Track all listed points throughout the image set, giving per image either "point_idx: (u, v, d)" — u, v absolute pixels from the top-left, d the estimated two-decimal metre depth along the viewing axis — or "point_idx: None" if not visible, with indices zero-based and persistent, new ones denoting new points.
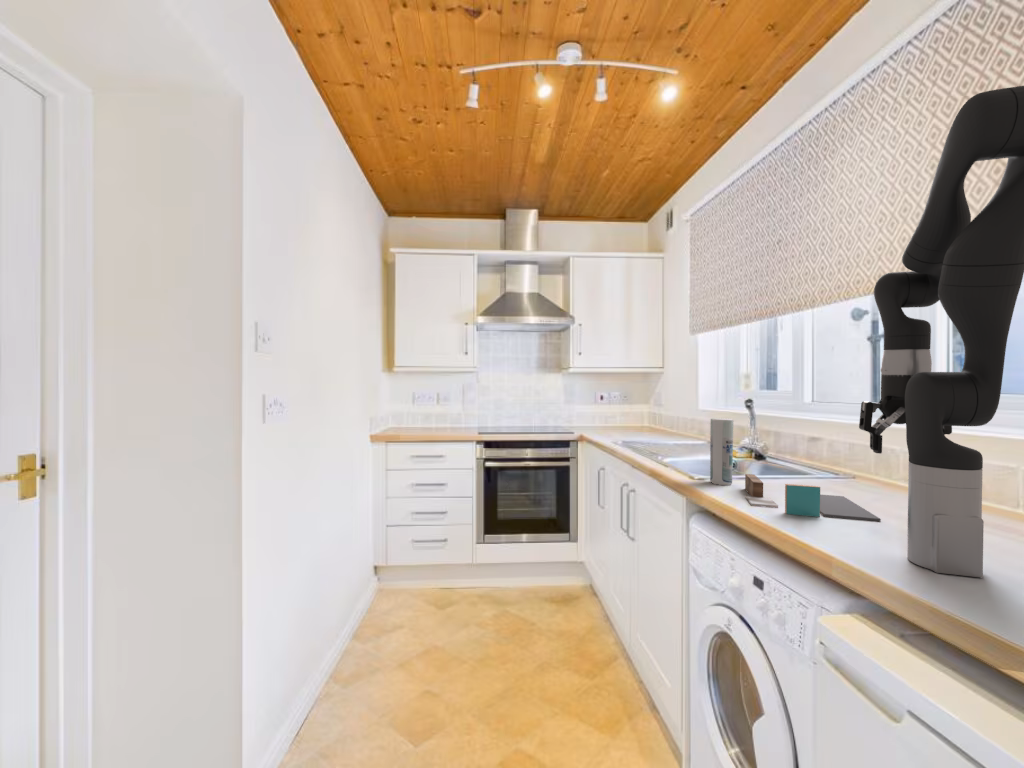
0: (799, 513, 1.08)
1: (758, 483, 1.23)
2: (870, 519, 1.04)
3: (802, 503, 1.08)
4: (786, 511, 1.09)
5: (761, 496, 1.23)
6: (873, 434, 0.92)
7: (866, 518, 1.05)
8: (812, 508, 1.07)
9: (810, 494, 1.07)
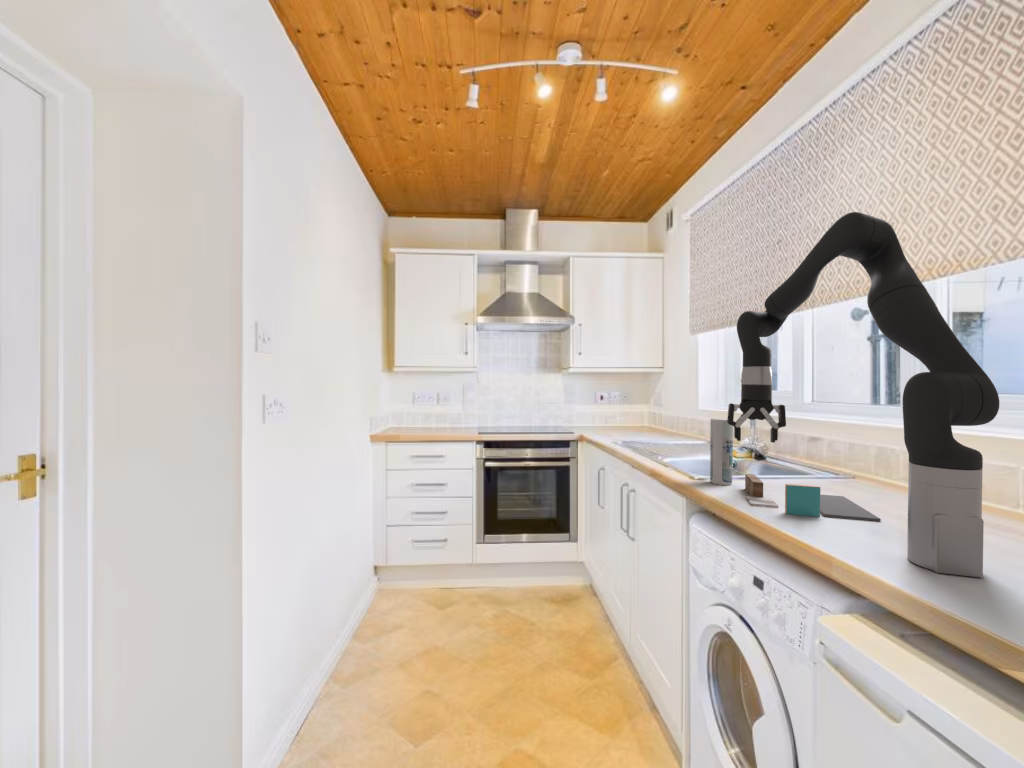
0: (799, 513, 1.08)
1: (758, 483, 1.23)
2: (870, 519, 1.04)
3: (802, 503, 1.08)
4: (786, 511, 1.09)
5: (761, 496, 1.23)
6: (735, 427, 1.28)
7: (866, 518, 1.05)
8: (812, 508, 1.07)
9: (810, 494, 1.07)
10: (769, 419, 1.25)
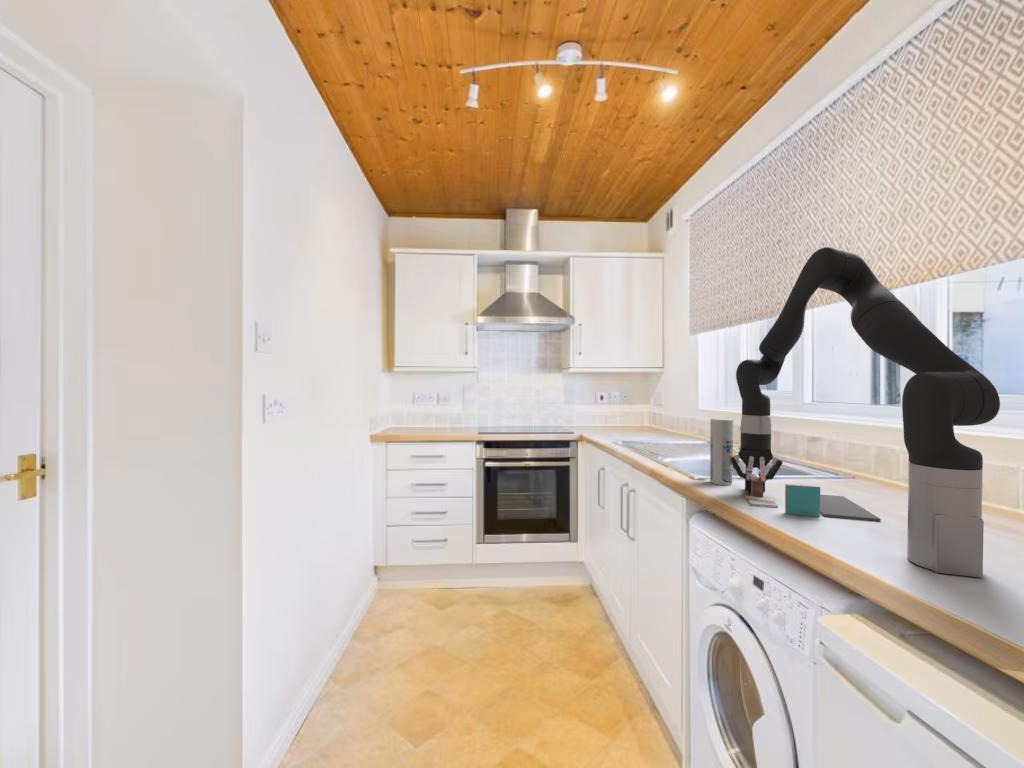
0: (799, 513, 1.08)
1: (758, 483, 1.23)
2: (870, 519, 1.04)
3: (802, 503, 1.08)
4: (786, 511, 1.09)
5: (761, 496, 1.23)
6: (747, 480, 1.27)
7: (866, 518, 1.05)
8: (812, 508, 1.07)
9: (810, 494, 1.07)
10: (762, 470, 1.25)
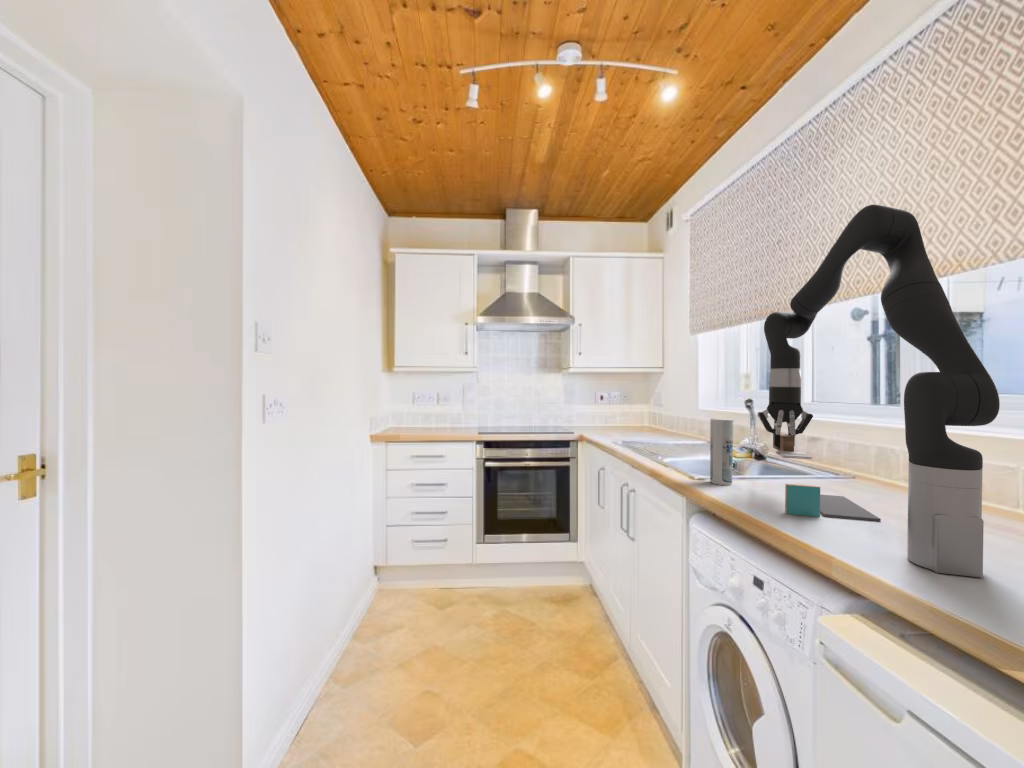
0: (799, 513, 1.08)
1: (789, 437, 1.20)
2: (870, 519, 1.04)
3: (802, 503, 1.08)
4: (786, 511, 1.09)
5: (792, 450, 1.20)
6: (776, 435, 1.25)
7: (866, 518, 1.05)
8: (812, 508, 1.07)
9: (810, 494, 1.07)
10: (791, 424, 1.23)
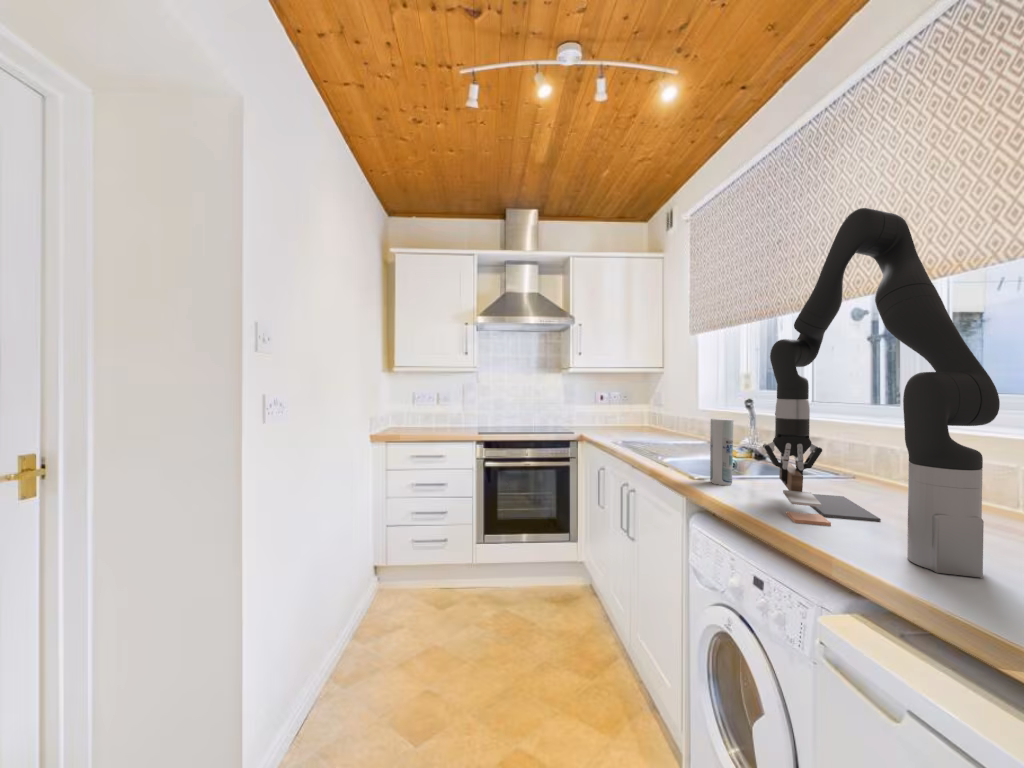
0: None
1: (797, 476, 1.13)
2: (870, 519, 1.04)
3: None
4: None
5: (800, 490, 1.13)
6: (783, 469, 1.18)
7: (866, 518, 1.05)
8: None
9: None
10: (799, 458, 1.16)
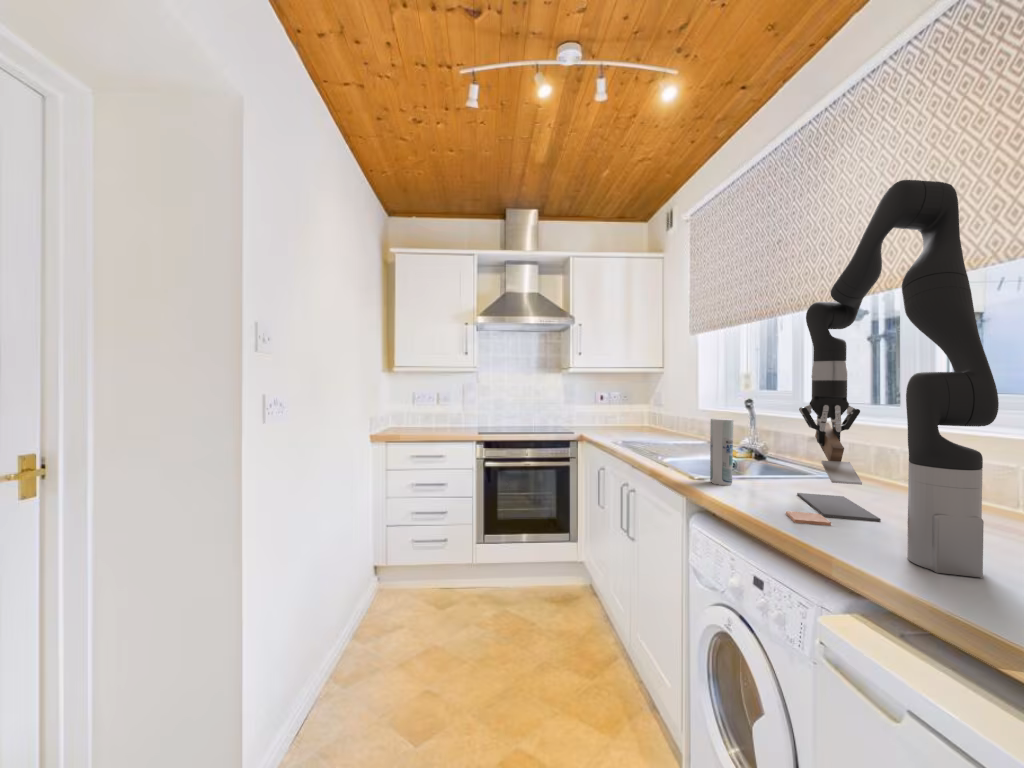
0: None
1: (838, 448, 1.12)
2: (870, 519, 1.04)
3: None
4: None
5: (839, 460, 1.13)
6: (820, 432, 1.18)
7: (866, 518, 1.05)
8: None
9: None
10: (837, 419, 1.16)
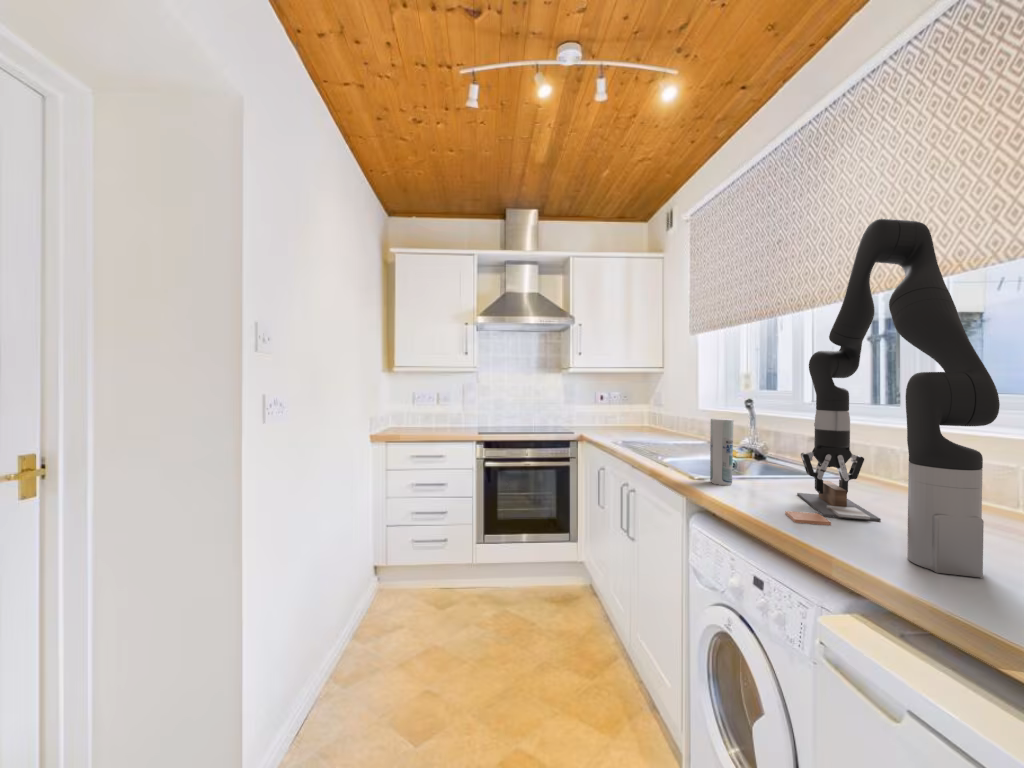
0: None
1: (841, 491, 1.12)
2: (870, 519, 1.04)
3: None
4: None
5: (844, 505, 1.11)
6: (817, 479, 1.19)
7: None
8: None
9: None
10: (843, 469, 1.16)
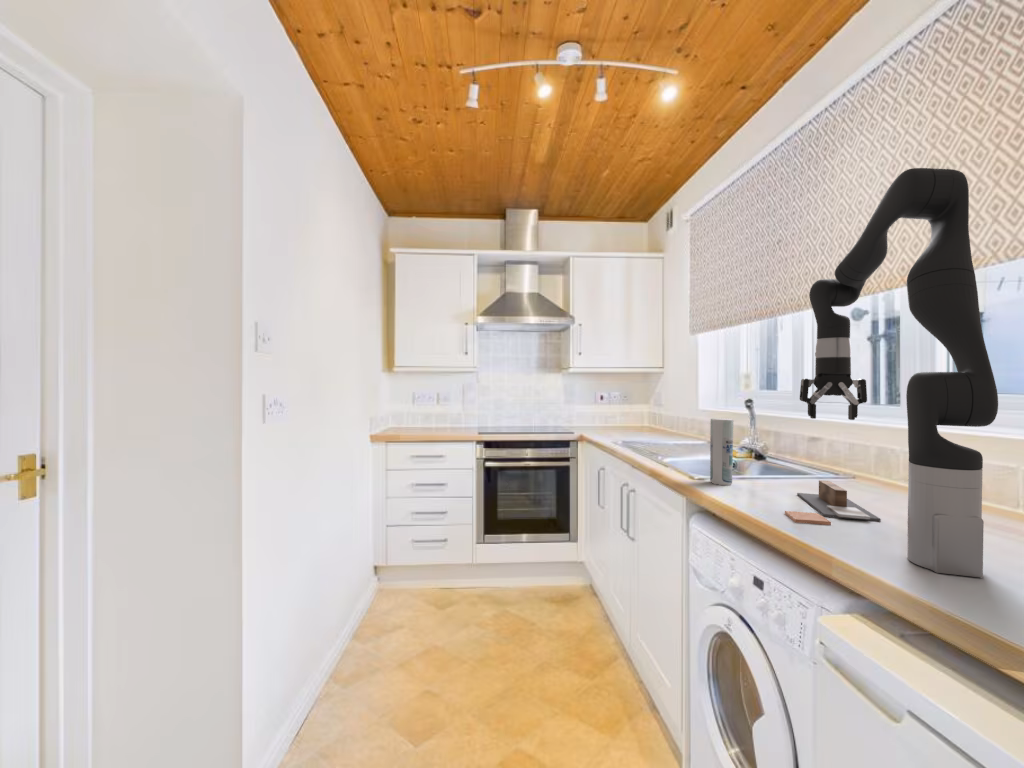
0: None
1: (841, 491, 1.12)
2: (870, 519, 1.04)
3: None
4: None
5: (844, 505, 1.11)
6: (809, 403, 1.19)
7: None
8: None
9: None
10: (848, 394, 1.16)
